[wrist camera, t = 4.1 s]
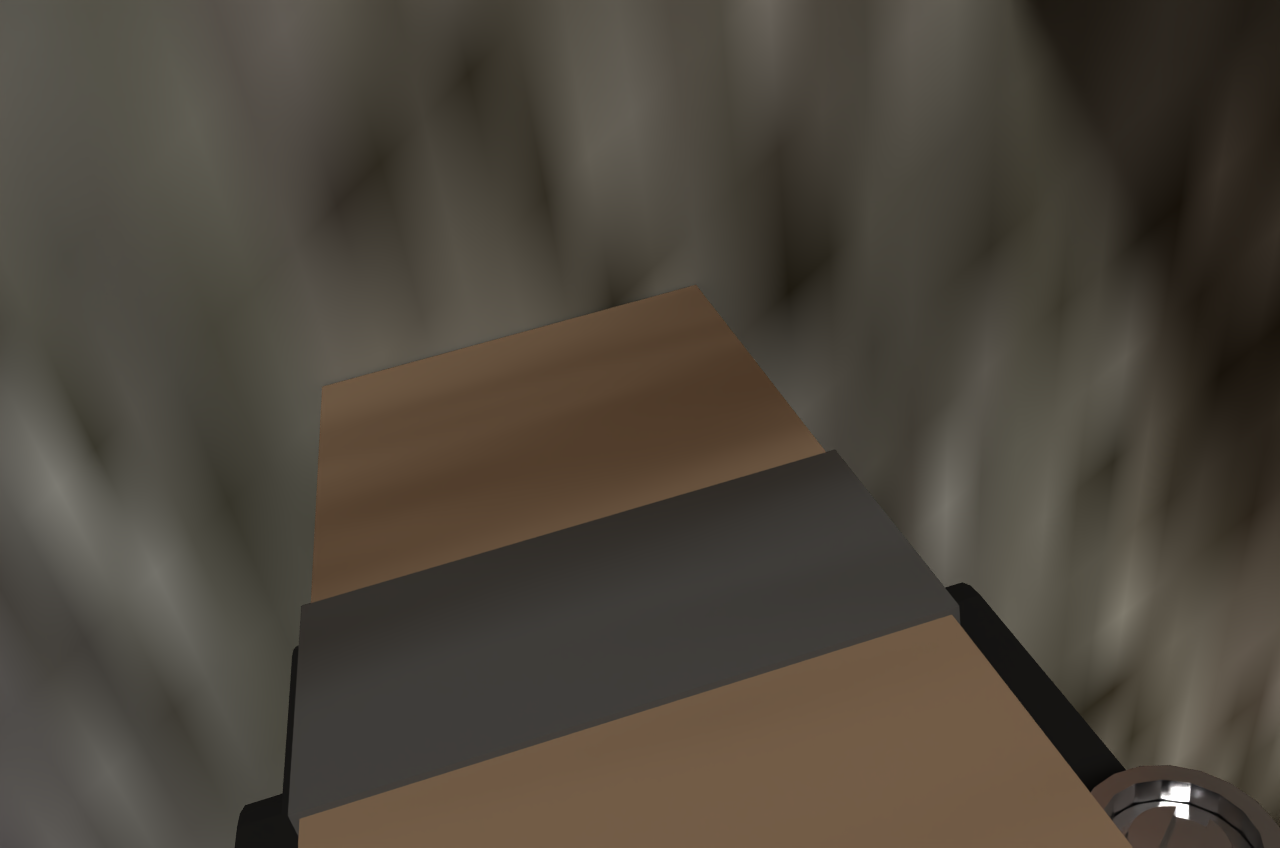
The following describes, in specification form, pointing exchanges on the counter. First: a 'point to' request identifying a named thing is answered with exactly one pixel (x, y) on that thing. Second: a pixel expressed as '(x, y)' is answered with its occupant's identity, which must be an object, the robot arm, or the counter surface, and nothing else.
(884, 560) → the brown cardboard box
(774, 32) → the counter surface
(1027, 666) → the robot arm
